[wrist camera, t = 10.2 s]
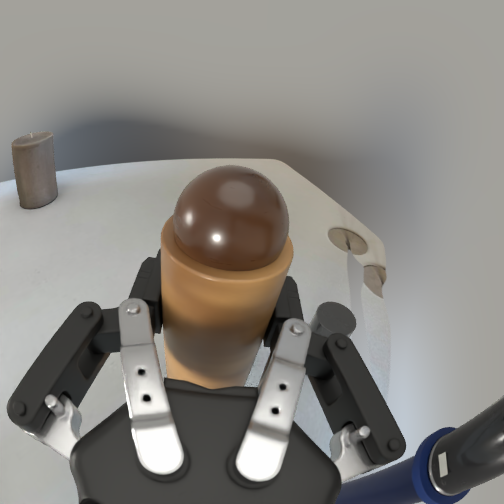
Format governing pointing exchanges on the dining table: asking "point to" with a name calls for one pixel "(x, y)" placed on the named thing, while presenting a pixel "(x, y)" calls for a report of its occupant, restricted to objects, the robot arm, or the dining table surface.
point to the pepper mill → (222, 274)
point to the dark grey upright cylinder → (333, 320)
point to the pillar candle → (35, 169)
